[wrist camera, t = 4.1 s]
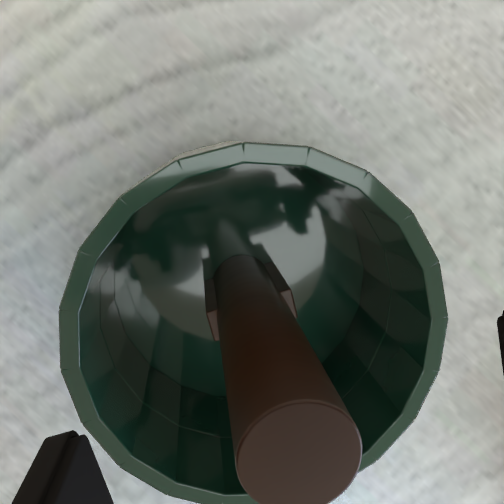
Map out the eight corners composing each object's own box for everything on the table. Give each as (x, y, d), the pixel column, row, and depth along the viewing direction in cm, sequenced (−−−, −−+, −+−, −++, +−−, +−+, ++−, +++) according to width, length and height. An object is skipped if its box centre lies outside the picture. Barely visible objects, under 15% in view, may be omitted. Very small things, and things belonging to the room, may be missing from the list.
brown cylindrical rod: (214, 319, 21) (239, 534, 10) (199, 265, 21) (205, 427, 9) (283, 299, 21) (387, 488, 10) (269, 246, 21) (364, 380, 9)
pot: (150, 430, 23) (131, 552, 16) (62, 183, 20) (-6, 206, 13) (390, 359, 24) (469, 448, 17) (341, 110, 20) (414, 96, 14)
